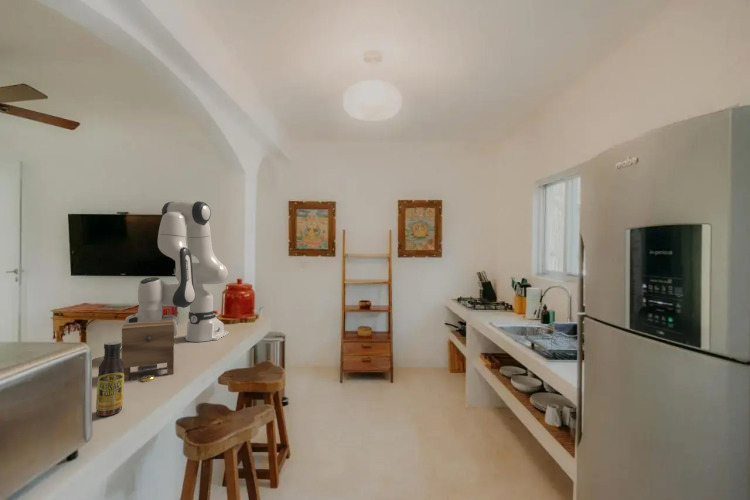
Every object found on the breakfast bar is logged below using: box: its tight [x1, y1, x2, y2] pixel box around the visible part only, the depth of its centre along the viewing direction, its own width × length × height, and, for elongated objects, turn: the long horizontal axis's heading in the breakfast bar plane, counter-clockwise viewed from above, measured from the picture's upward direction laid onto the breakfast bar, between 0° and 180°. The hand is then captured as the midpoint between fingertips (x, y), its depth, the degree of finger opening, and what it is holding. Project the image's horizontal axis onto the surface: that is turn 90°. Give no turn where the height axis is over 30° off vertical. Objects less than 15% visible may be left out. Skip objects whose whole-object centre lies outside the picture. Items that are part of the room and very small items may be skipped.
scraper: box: [141, 364, 158, 371], centre depth 151 cm, size 18×5×4 cm, turn 30°
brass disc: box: [140, 374, 155, 383], centre depth 132 cm, size 4×4×1 cm
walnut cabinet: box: [121, 320, 175, 382], centre depth 138 cm, size 11×16×18 cm
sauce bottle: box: [95, 340, 125, 417], centre depth 106 cm, size 6×6×20 cm
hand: (150, 348), depth 158 cm, fingers open, 8 cm apart
